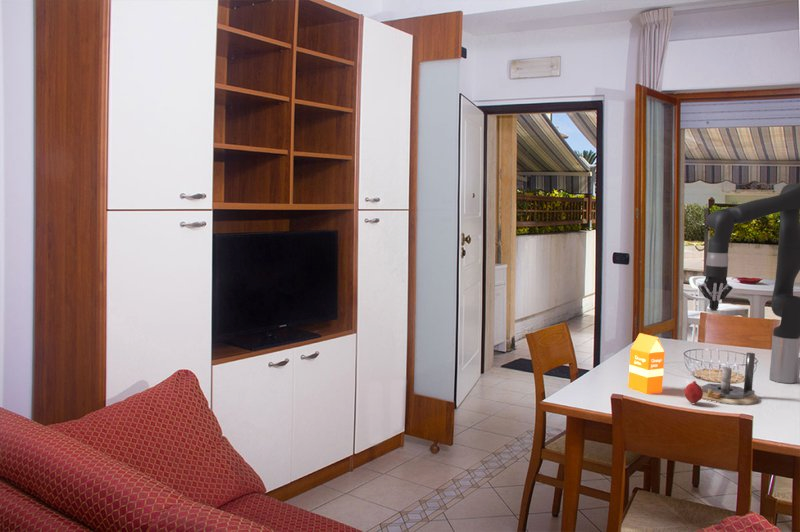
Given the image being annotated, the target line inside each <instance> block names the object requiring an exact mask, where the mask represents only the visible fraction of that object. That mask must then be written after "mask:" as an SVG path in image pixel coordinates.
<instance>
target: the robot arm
mask: <svg viewBox="0 0 800 532" xmlns="http://www.w3.org/2000/svg"><path fill="white" fill-rule="evenodd" d="M776 213H779V230H778V231H779V234H778V235H779V236H778V243H777V245H778V246H777V257H776V271H775V282H774V287H773V292H772V296H771V297H772V298H771V305H770V308H771V310H772V313H773V314H774V315H775V316H777V317H779V318H780V324H779V325H778V326H775V327H774V328H773V330H772V342H771V343H772V344H771V352H770V353H771V355H770V366H769V380H770V381H773V382H777V383H782V384H795V383H799V382H800V356H799V355H800V296H796V295H794V287H795V286H794V284H795V280H796V278H797V276H798V274H799V272H800V183H788V184H786V185H784V186H783V187H782V189H781V191H780V193H779V194H778V195H774V196H770V197H765V198H760V199H754V200H751V201H747V202H744V203H741V204H738V205H735V206H732V207H727V208H722V209H721V208H720V209H718V210H715V211H712V212H711V213H709V214H708V215H707V217H706V225H707V226H708V227H709V228H710V229H712V230H714V233H713V236H711V237H710V238H709V239H708V243H707V244H708V246H707V255H706V261H705V272H704V273H705V274H704V275H705V279H704V280H703V283H702V284H699V285H697V288H698V289H699V291H700V292H701V294H702V295H703V297H704V299H707V300H709V302H708V303H709V309H710V311H713V312H714V311H717V310H718V309H719V304H720V301H722V300H725V298H726V297H727V296H728V295H729V294H730V292H731V291H732V289H733V286H732V285H730V284H729V283H728V279H727V278H728V269H729V246H730V241H731V238H732V235H733V230H734V228H735V225H739V224H740V225H741V224H746V223H748V222H752V221H755V220H758V219H760V218H764V217H767V216H770V215H774V214H776Z"/></svg>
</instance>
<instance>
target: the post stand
mask: <svg viewBox="0 0 800 532" xmlns="http://www.w3.org/2000/svg"><path fill="white" fill-rule="evenodd" d="M732 370H733V369H732V368H731V367H727V366H722V368H721V379H720V384H721V390H723V391H730V385H731V384H732V383H731V379H732ZM699 386H700V387H701V389H702V386H704V385H699ZM702 391H703V390H702ZM711 393H712V389H708V394H707V393H706V392H704V391H703V396H702V398H703V399H702V398H701V399H702V400H704V399H707V400H706V401H708V400H711V401H710V402H712V401H716V402H715V403H717V402H721V403H720V404H723V403H729V404H728V405H731V404H738V405H737V406H749V405H754V404H757V403H758V402H759V396H758V395H757V394H749V396H747V397H745V398H724V397H720V398H718V399H717V398H713V397H710V396H711Z"/></svg>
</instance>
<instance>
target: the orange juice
mask: <svg viewBox="0 0 800 532" xmlns="http://www.w3.org/2000/svg"><path fill="white" fill-rule="evenodd" d="M629 354H630V355H629V368H628V371H629V372H628V386H627V388H628V389H631V390H633V391H636V392H639V393H642V394H645V395H651V394H658V393H663V380H664V368H665V367H664V365H665V349H664V348H663V345H662V343H661V341H660V339H659V337H658V336H654V335H650V334H645V333H642V332H639V334H638V335H637V337H636V339H635V341H634V343H633V344H632V346H631V347H630V351H629Z"/></svg>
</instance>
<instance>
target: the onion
mask: <svg viewBox="0 0 800 532" xmlns="http://www.w3.org/2000/svg"><path fill="white" fill-rule="evenodd" d="M700 386H701V385H699V384H698V383H697V381H696V380H693V381H692V382H690V383H689V384H688V385H687V386H686V387H685V388H684V390H683V394H684V397H685V399H686V400H687V401H688V402H689V403H690V404H691V403H695V404H696V403H698V402H699V401H701V400H702V396H703V391H702V389H701V387H700Z"/></svg>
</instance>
